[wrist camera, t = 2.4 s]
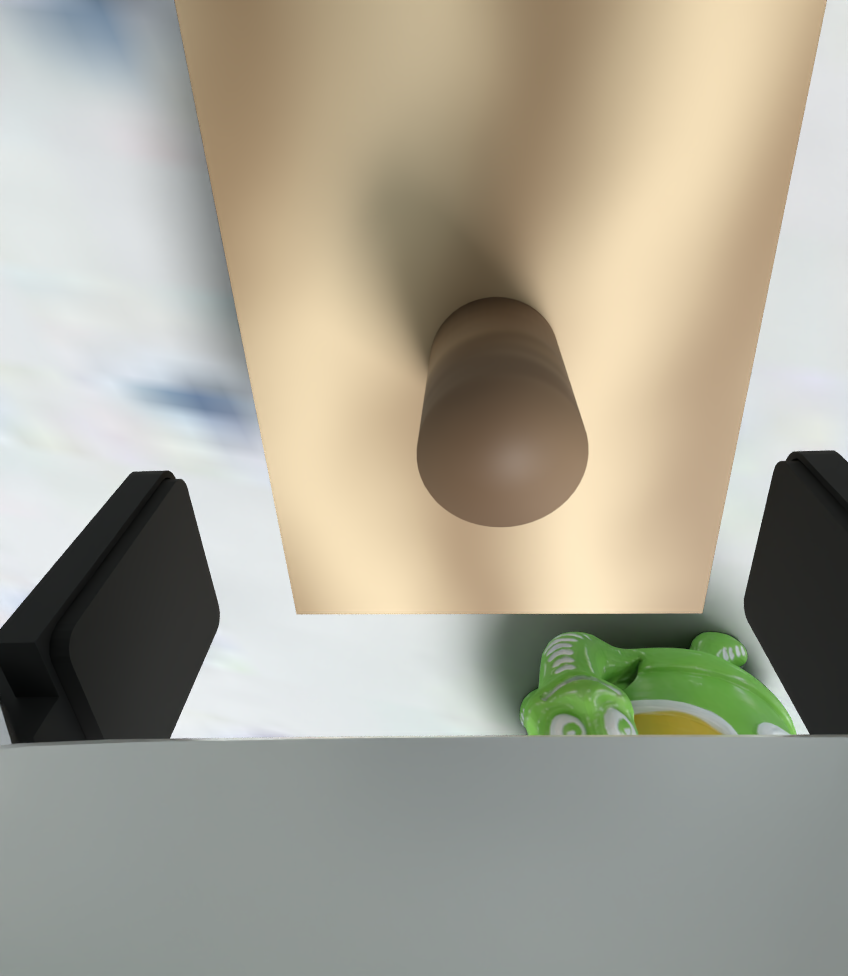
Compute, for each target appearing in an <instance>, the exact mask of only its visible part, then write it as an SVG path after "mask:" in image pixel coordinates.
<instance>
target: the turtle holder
mask: <svg viewBox="0 0 848 976" xmlns="http://www.w3.org/2000/svg"><path fill="white" fill-rule="evenodd" d="M747 657H748V656H747V652H746V649H745V647H744V646H743V645H742V644H741V643H740V642H739V641H738V640H736V639H735V638H733V637H731V636H729V635H727V634H722V633H719V632H704V633H701V634H699V635H698V636H697V637H696V638H695V639H694V640H693V641H692V644H691V646H690V649H681V648H639V649H622V648H616V647H614V646H611V645H609V644H608V643H606V642H604V641H602V640H600V639H599V638H597V637H595V636H594V635H591V634H588V633H584V632H567V633H563V634H560V635H558V636H556V637H555V638H554V639H552V640H551V641H550V642H549V643H548V644H547V646H546V648H545V650H544V652H543V654H542V658H541V665H540V675H539V687H538V689H536V690H533V691H532V692H530V693H529V694H528V695H527V696H526V697H525V698H524V700H523V702H522V704H521V707H520V715H519V717H520V722H521V724H522V725H523V726H524V727H525V728H526V730H527V733H528V735H797V734H796V731H795V728H794V725H793V722H792V720H791V717H790V716H789V714H788V712H787V711H786V709H785V708H784V706H783V705H782V704H781V702H780V701H779V700H778V699H777V698H776V696H775V695H774V694H773V693H772V692H771V691H770V690H769V689H768V688H767V687H766V686H764V685H763V684H762V683H761V682H760V681H759V680H757V679H756V678H755V677H753V676H752V675H751V674H749V673H748V672H746V671H744V670H743V669H741V668H740V667H741V666H742V665H744V664H745V663H746V661H747Z"/></svg>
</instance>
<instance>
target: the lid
mask: <svg viewBox="0 0 848 976" xmlns="http://www.w3.org/2000/svg"><path fill="white" fill-rule="evenodd" d="M174 1H175V6H176V11H177V16H178V21H179V26H180V31H181V36H182V41H183V46H184V52H185V57H186V62H187V67H188V72H189V77H190V82H191V87H192V92H193V97H194V102H195V107H196V112H197V117H198V122H199V127H200V132H201V137H202V142H203V147H204V152H205V157H206V162H207V167H208V172H209V177H210V182H211V187H212V192H213V197H214V202H215V207H216V212H217V217H218V222H219V227H220V232H221V237H222V242H223V247H224V252H225V257H226V262H227V267H228V272H229V277H230V282H231V287H232V292H233V297H234V302H235V307H236V312H237V317H238V322H239V327H240V332H241V338H242V343H243V348H244V353H245V358H246V363H247V368H248V373H249V378H250V383H251V388H252V393H253V398H254V403H255V408H256V413H257V418H258V423H259V428H260V433H261V438H262V443H263V448H264V453H265V458H266V463H267V468H268V473H269V478H270V483H271V488H272V493H273V498H274V503H275V508H276V513H277V518H278V523H279V528H280V533H281V538H282V543H283V548H284V553H285V558H286V563H287V568H288V573H289V578H290V583H291V588H292V593H293V598H294V603H295V608H296V613H297V614H631V613H703V608H704V603H705V598H706V593H707V588H708V583H709V578H710V573H711V568H712V563H713V558H714V554H715V549H716V544H717V539H718V534H719V529H720V524H721V519H722V514H723V509H724V504H725V499H726V494H727V490H728V485H729V480H730V475H731V470H732V465H733V460H734V455H735V450H736V445H737V440H738V435H739V430H740V426H741V421H742V416H743V411H744V406H745V401H746V396H747V391H748V386H749V381H750V376H751V371H752V366H753V361H754V357H755V352H756V347H757V342H758V337H759V332H760V327H761V322H762V317H763V312H764V307H765V302H766V297H767V293H768V288H769V283H770V278H771V273H772V268H773V263H774V258H775V253H776V248H777V243H778V238H779V233H780V229H781V224H782V219H783V214H784V209H785V204H786V199H787V194H788V189H789V184H790V179H791V174H792V169H793V164H794V160H795V155H796V150H797V145H798V140H799V135H800V130H801V125H802V120H803V115H804V110H805V105H806V100H807V96H808V91H809V86H810V81H811V76H812V71H813V66H814V61H815V56H816V51H817V46H818V41H819V36H820V32H821V27H822V22H823V17H824V12H825V7H826V2H827V0H174Z"/></svg>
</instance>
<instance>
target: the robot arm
mask: <svg viewBox="0 0 848 976" xmlns="http://www.w3.org/2000/svg"><path fill="white" fill-rule="evenodd" d="M744 610H745V615H746V618H747V621H748V623H749V624H750V626H751V628H752V630H753V632H754V634H755V635H756V637H757V639H758V641H759V643H760V644H761V646H762V648H763V650H764V652H765V654H766V655H767V657H768V659H769V661H770V663H771V664H772V666H773V668H774V670H775V672H776V674H777V675H778V677H779V679H780V681H781V683H782V684H783V686H784V688H785V690H786V692H787V694H788V695H789V697H790V699H791V701H792V703H793V704H794V706H795V708H796V710H797V712H798V714H799V715H800V717H801V719H802V721H803V723H804V724H805V726H806V728H807V730H808V732H809V734H810V735H485V736H358V737H270V738H184V739H170V737H171V735H172V732H173V730H174V728H175V726H176V723H177V721H178V719H179V716H180V714H181V712H182V709H183V707H184V705H185V703H186V700H187V698H188V696H189V693H190V691H191V689H192V687H193V684H194V682H195V680H196V677H197V675H198V673H199V670H200V668H201V666H202V664H203V661H204V659H205V657H206V654H207V652H208V650H209V648H210V645H211V643H212V641H213V638H214V636H215V634H216V632H217V629H218V626H219V619H220V611H219V605H218V601H217V597H216V594H215V590H214V586H213V582H212V579H211V575H210V571H209V567H208V564H207V560H206V556H205V552H204V549H203V545H202V541H201V537H200V534H199V530H198V526H197V522H196V518H195V515H194V511H193V507H192V503H191V500H190V496H189V492H188V488H187V486H186V483H185V482H184V481H183V480H182V479H176V478H175V476H174V475H173V473H172V472H170V471H142V472H132V473H131V474H130V475H129V476H128V477H127V478H126V479H125V481H124V482H123V483H122V484H121V485H120V487H119V488H118V489H117V490H116V491H115V493H114V494H113V495H112V496H111V497H110V498H109V500H108V501H107V502H106V503H105V504H104V506H103V507H102V508H101V509H100V510H99V512H98V513H97V514H96V515H95V516H94V518H93V519H92V520H91V521H90V522H89V524H88V525H87V526H86V527H85V528H84V530H83V531H82V532H81V533H80V534H79V536H78V537H77V538H76V539H75V540H74V541H73V543H72V544H71V545H70V546H69V547H68V549H67V550H66V551H65V552H64V553H63V555H62V556H61V557H60V558H59V559H58V561H57V562H56V563H55V564H54V565H53V567H52V568H51V569H50V570H49V571H48V573H47V574H46V575H45V576H44V577H43V579H42V580H41V581H40V582H39V583H38V584H37V586H36V587H35V588H34V589H33V590H32V592H31V593H30V594H29V595H28V596H27V598H26V599H25V600H24V601H23V602H22V604H21V605H20V606H19V607H18V608H17V610H16V611H15V612H14V613H13V614H12V616H11V617H10V618H9V619H8V620H7V622H6V623H5V624H4V625H3V626H2V627H1V629H0V976H848V462H847V461H846V460H845V459H844V458H843V457H842V456H841V455H840V454H839V453H837V452H835V451H797V452H792V453H791V454H790V455H789V456H788V458H787V459H786V461H780V462H778V463H777V465H776V466H775V469H774V472H773V476H772V480H771V484H770V489H769V493H768V497H767V502H766V506H765V510H764V515H763V519H762V523H761V527H760V532H759V536H758V540H757V545H756V549H755V553H754V558H753V562H752V566H751V571H750V575H749V579H748V583H747V588H746V592H745V597H744Z"/></svg>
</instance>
